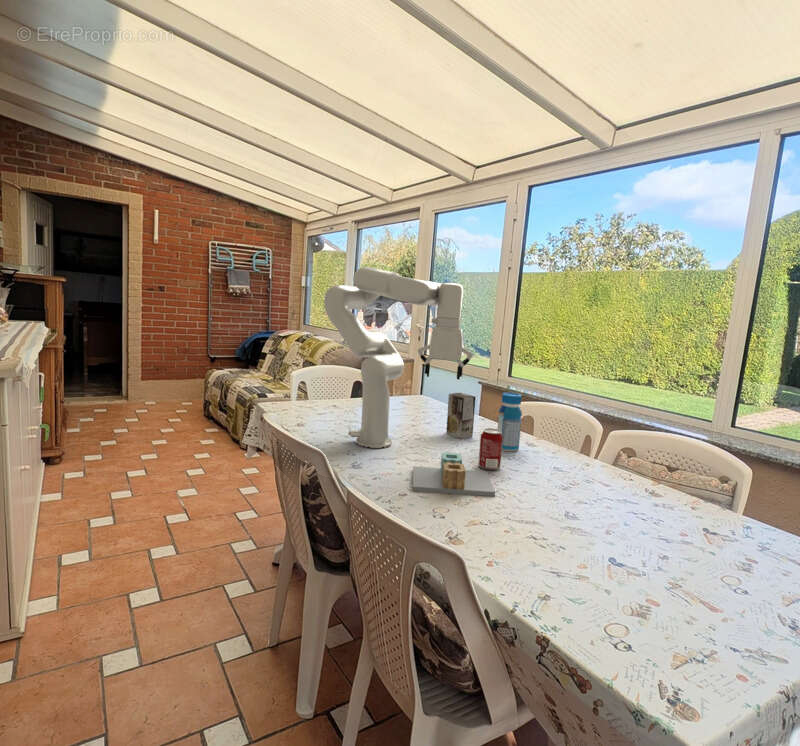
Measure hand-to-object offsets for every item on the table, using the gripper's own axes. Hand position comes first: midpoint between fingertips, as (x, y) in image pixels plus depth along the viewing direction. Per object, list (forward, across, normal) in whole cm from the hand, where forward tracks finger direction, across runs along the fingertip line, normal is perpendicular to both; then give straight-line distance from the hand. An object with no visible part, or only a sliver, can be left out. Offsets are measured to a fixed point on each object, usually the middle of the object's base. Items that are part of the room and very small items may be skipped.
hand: (442, 377), depth 149 cm
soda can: (+27, +17, -4) cm, 32 cm away
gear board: (+27, +4, -20) cm, 33 cm away
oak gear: (+26, +4, -24) cm, 35 cm away
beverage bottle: (+27, +26, +18) cm, 42 cm away
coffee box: (+28, +10, +32) cm, 43 cm away
